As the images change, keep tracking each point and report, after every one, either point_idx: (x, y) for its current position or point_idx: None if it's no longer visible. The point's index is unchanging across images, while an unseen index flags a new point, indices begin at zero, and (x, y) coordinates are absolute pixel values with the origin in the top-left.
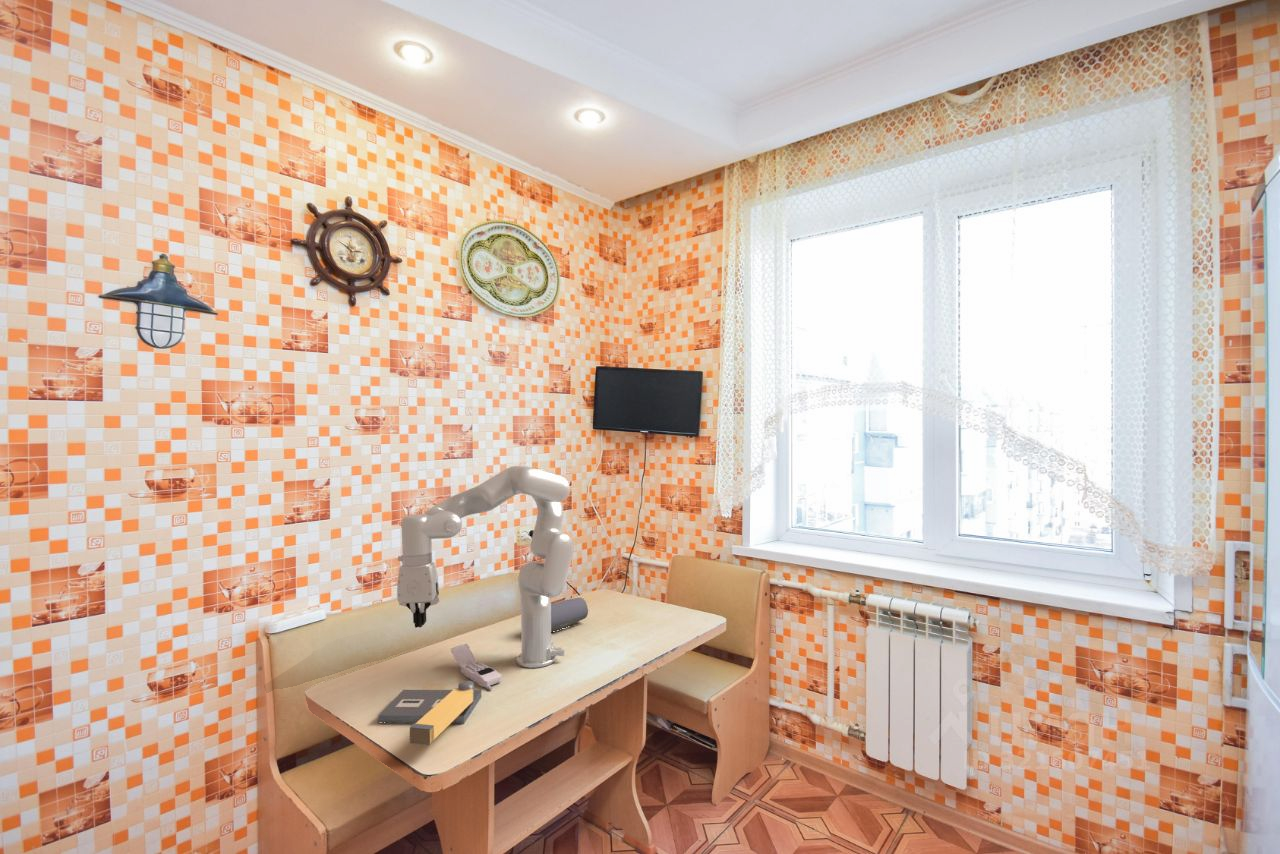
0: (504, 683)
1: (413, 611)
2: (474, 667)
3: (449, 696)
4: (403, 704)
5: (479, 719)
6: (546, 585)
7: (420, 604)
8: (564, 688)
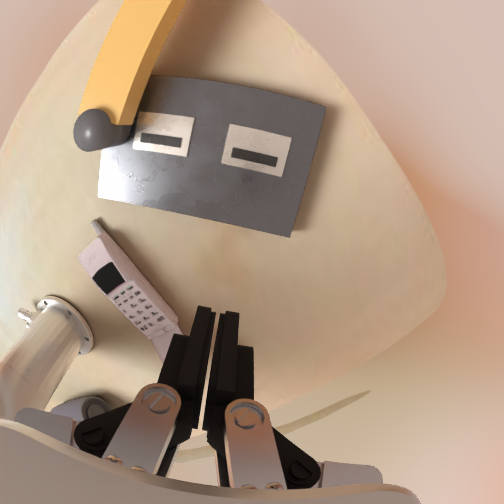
0: (81, 248)
1: (244, 412)
2: (142, 311)
3: (126, 75)
4: (272, 146)
5: None
6: None
7: (155, 457)
8: (3, 208)
